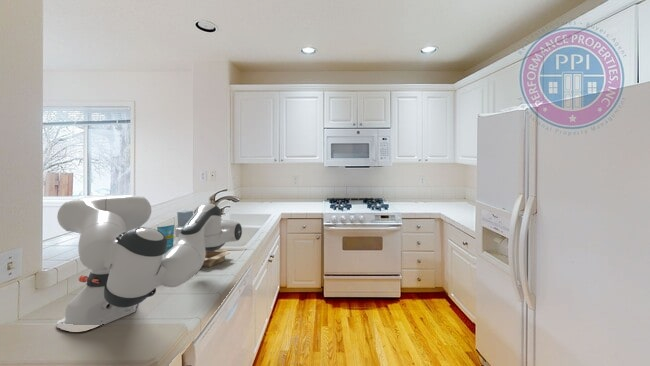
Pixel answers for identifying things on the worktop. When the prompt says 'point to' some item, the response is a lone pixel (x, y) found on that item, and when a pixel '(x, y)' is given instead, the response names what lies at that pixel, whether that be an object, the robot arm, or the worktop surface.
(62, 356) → the worktop surface
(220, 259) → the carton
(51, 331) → the worktop surface
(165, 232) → the tube
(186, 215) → the box
